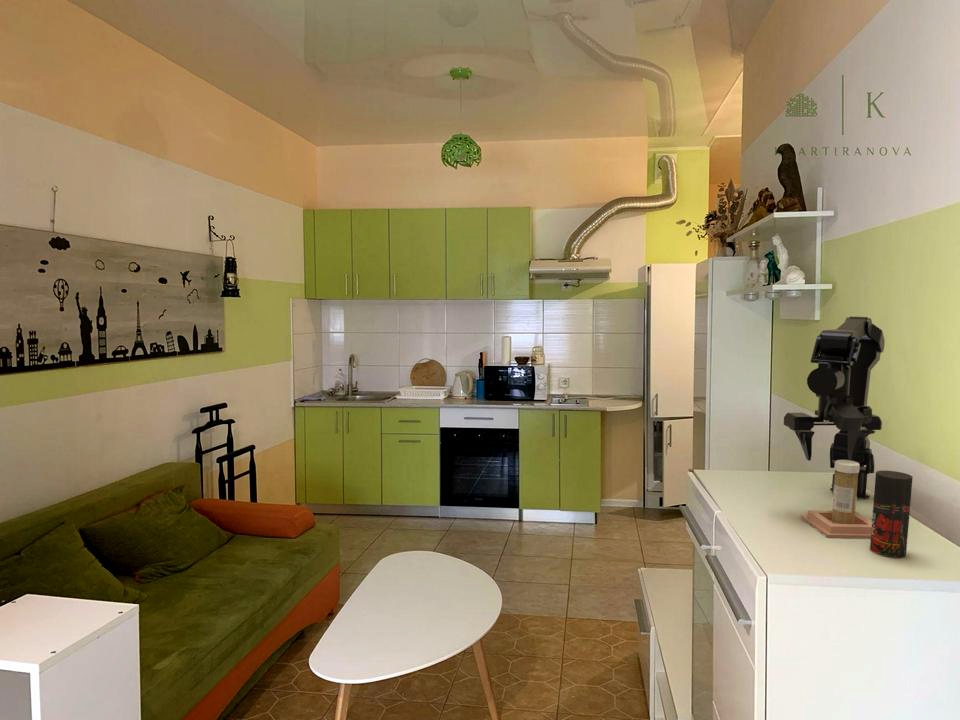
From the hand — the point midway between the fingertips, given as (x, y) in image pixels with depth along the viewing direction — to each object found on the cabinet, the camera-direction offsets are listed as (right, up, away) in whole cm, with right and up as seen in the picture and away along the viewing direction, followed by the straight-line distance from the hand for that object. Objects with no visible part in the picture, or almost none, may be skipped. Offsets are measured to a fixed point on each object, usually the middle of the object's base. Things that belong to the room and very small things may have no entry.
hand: (829, 460), depth 150 cm
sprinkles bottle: (0, -13, -6) cm, 14 cm away
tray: (-1, -13, -6) cm, 15 cm away
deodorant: (+1, -15, -19) cm, 24 cm away
